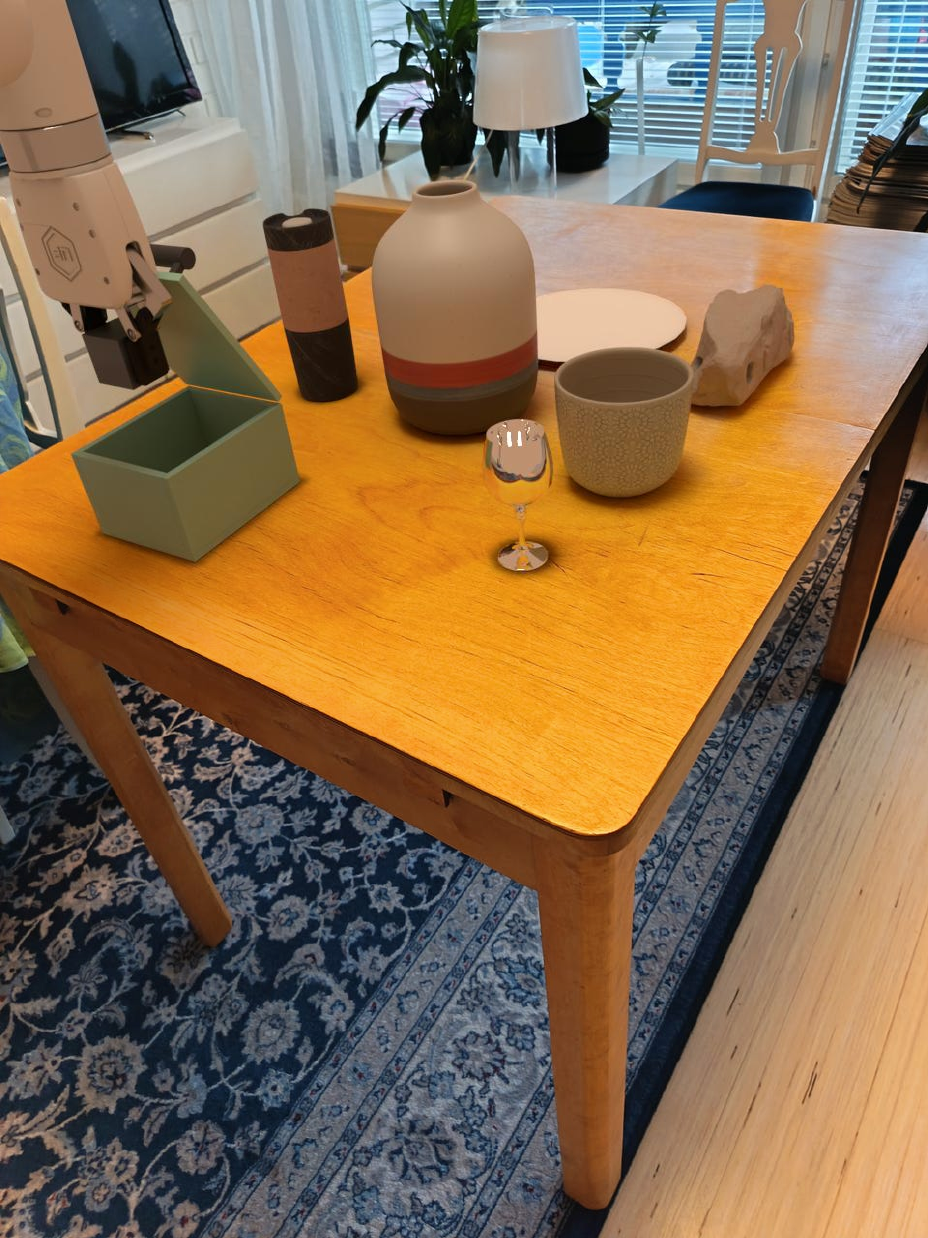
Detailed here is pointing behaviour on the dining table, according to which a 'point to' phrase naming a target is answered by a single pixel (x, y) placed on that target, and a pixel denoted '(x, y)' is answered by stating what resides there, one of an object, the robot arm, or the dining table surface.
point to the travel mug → (312, 303)
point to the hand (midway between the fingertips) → (133, 373)
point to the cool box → (188, 470)
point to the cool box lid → (202, 335)
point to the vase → (456, 312)
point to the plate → (603, 322)
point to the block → (111, 355)
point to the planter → (623, 418)
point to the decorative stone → (740, 345)
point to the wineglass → (518, 481)
